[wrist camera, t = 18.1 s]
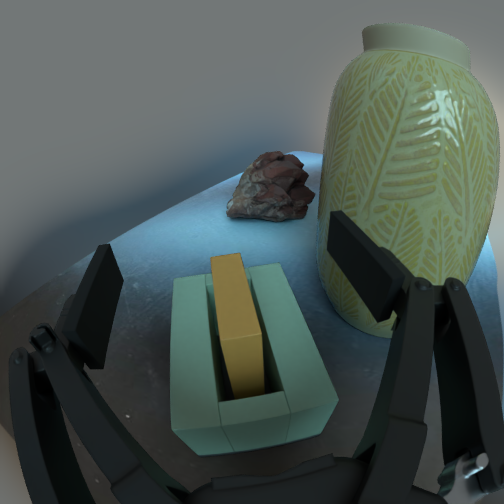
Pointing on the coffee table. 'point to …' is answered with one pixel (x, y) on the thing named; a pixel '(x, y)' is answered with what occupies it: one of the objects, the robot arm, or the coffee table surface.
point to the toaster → (217, 379)
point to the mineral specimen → (272, 189)
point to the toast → (238, 326)
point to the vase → (408, 161)
